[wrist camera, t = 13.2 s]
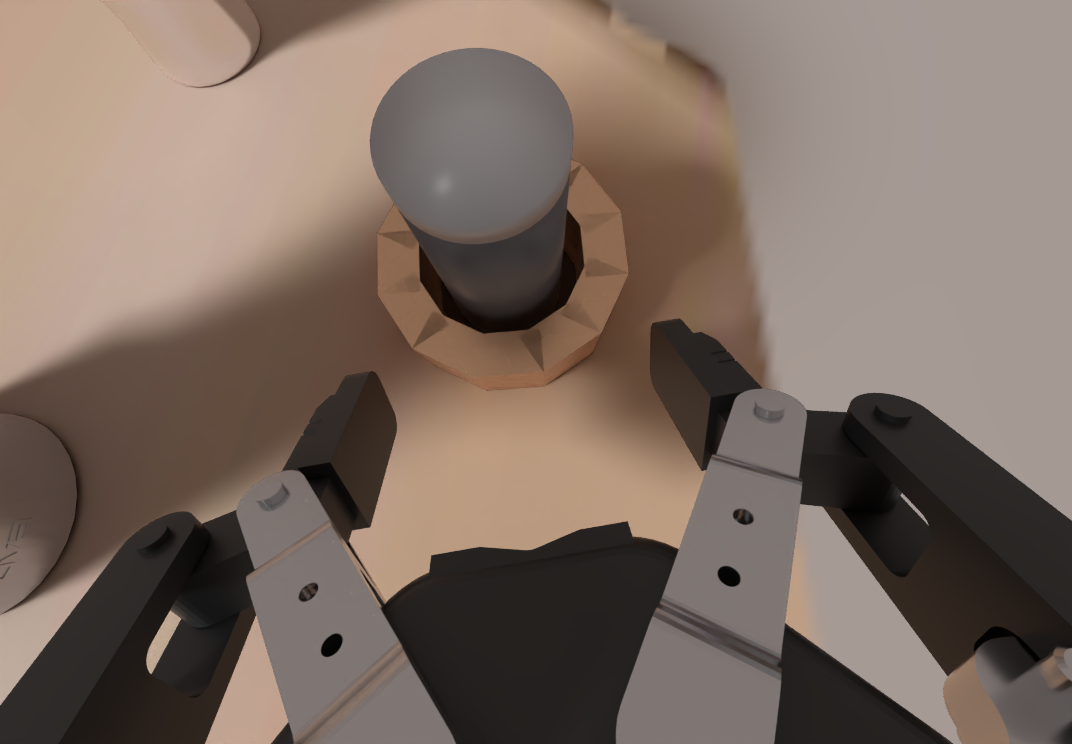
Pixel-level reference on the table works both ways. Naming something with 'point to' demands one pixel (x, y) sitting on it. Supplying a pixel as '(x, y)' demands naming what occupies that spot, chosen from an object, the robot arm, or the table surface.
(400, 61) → the table surface
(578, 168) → the wooden polygonal ring
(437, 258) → the plug
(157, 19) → the beer glass
